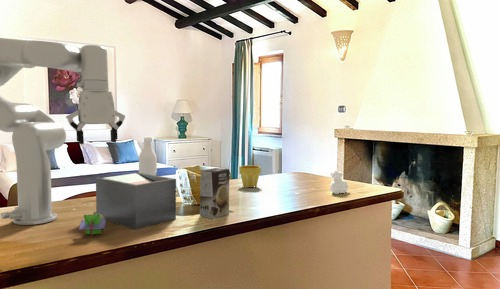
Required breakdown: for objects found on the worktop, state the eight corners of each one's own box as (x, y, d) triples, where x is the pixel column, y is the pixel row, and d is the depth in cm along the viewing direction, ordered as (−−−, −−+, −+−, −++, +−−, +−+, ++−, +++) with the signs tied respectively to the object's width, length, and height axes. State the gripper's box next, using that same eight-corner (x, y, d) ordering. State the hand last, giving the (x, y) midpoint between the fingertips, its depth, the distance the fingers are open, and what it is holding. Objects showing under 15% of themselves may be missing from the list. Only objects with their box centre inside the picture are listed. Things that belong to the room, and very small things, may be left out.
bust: (344, 195, 183) (332, 175, 187) (356, 188, 178) (343, 167, 183) (330, 199, 175) (317, 177, 179) (342, 191, 170) (329, 169, 174)
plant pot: (236, 188, 186) (236, 167, 185) (241, 184, 196) (242, 164, 195) (257, 189, 183) (258, 168, 183) (262, 185, 194) (262, 165, 193)
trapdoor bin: (135, 229, 118) (135, 185, 117) (96, 217, 130) (95, 177, 129) (175, 218, 131) (175, 178, 130) (136, 208, 143) (136, 172, 142)
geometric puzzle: (102, 232, 108) (104, 206, 112) (75, 234, 106) (79, 206, 111) (105, 241, 114) (107, 215, 118) (80, 242, 112) (83, 216, 116)
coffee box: (214, 219, 131) (214, 171, 130) (199, 216, 134) (199, 170, 133) (229, 213, 139) (230, 168, 137) (215, 211, 142) (215, 167, 141)
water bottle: (160, 198, 160) (160, 137, 158) (150, 202, 153) (150, 138, 151) (145, 197, 162) (145, 137, 160) (135, 200, 156) (134, 138, 154)
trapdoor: (128, 195, 122) (128, 191, 122) (102, 180, 130) (103, 177, 130) (160, 188, 132) (161, 185, 132) (135, 175, 140) (135, 173, 140)
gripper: (67, 85, 111) (70, 145, 113) (127, 87, 122) (129, 142, 123) (62, 87, 117) (64, 143, 119) (119, 88, 128) (121, 141, 129)
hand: (97, 142), depth 121 cm, fingers open, 9 cm apart
